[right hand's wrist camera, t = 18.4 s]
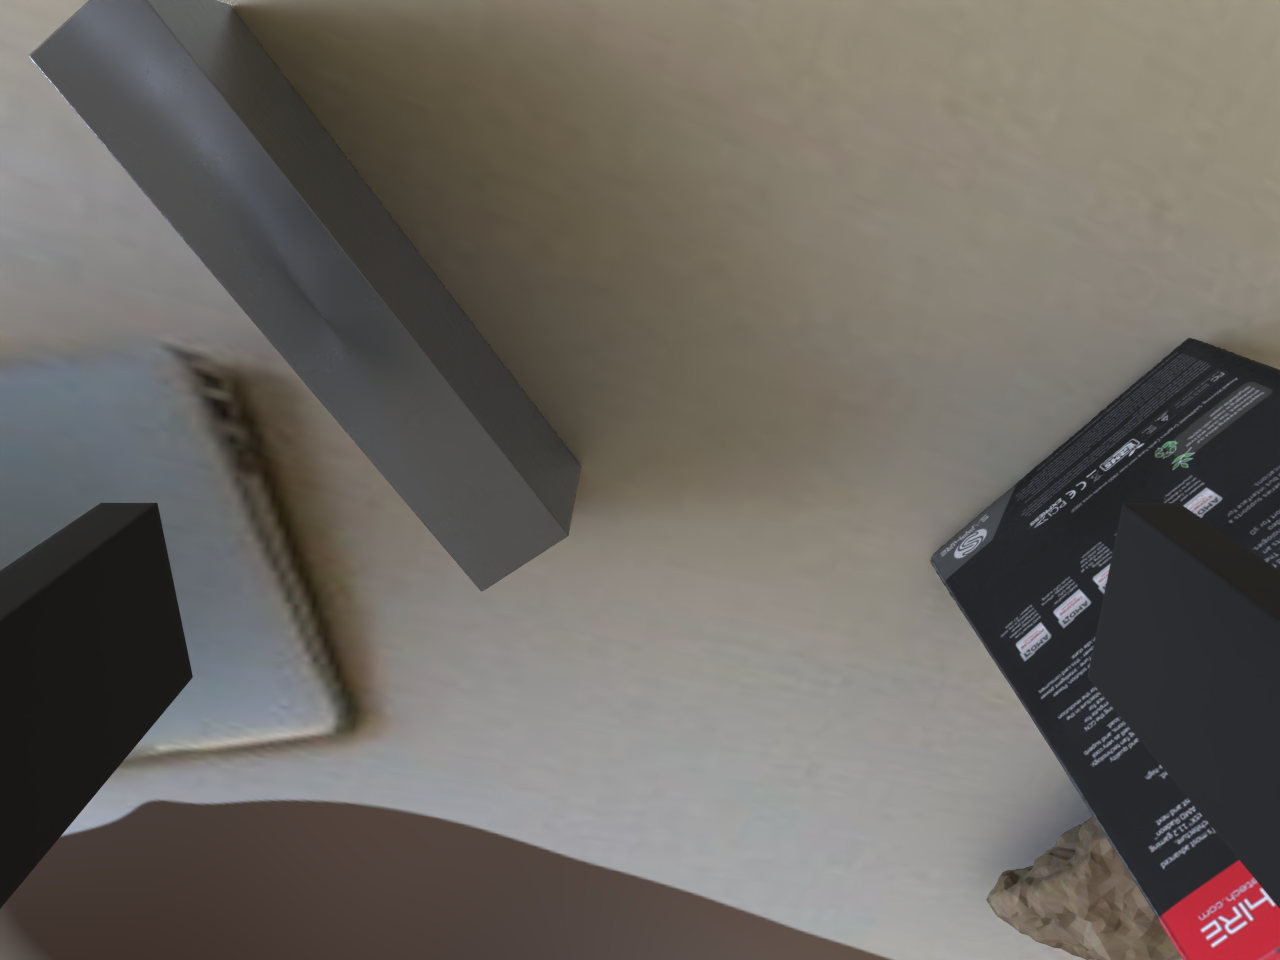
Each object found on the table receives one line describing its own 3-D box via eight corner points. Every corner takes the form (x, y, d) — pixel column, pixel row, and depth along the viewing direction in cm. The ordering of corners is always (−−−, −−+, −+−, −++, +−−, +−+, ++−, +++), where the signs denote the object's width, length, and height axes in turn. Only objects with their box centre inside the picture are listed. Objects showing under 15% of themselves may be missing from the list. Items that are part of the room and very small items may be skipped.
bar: (581, 466, 47) (568, 535, 38) (508, 514, 48) (481, 592, 39) (230, 4, 39) (122, -32, 31) (152, 72, 40) (27, 55, 32)
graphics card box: (994, 634, 50) (1363, 1151, 24) (910, 557, 48) (1213, 1026, 23) (1257, 415, 45) (2047, 767, 20) (1176, 322, 44) (1923, 577, 18)
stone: (1173, 1018, 56) (1225, 1093, 50) (969, 883, 56) (997, 941, 50) (1396, 750, 53) (1480, 796, 47) (1180, 610, 53) (1236, 637, 47)
